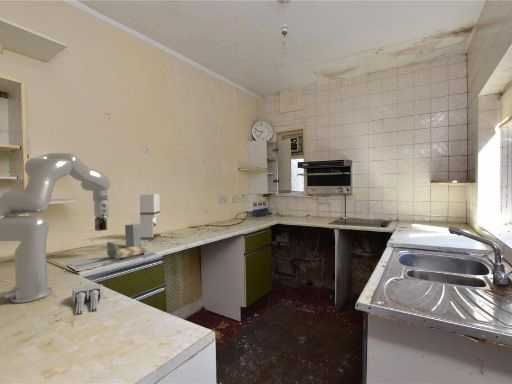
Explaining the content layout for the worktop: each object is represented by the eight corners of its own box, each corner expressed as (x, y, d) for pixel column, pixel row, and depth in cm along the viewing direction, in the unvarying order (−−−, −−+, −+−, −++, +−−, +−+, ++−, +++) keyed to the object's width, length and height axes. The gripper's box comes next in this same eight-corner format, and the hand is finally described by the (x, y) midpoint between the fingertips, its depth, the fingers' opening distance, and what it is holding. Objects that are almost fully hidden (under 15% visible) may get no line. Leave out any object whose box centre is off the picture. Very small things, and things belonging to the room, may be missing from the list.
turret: (69, 323, 89) (68, 310, 88) (74, 293, 105) (73, 282, 104) (103, 316, 94) (103, 303, 93) (103, 288, 110) (102, 277, 109)
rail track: (76, 272, 131) (76, 269, 131) (67, 265, 142) (66, 263, 142) (156, 254, 163) (156, 252, 163) (143, 250, 174) (143, 248, 174)
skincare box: (134, 248, 178) (133, 225, 177) (124, 248, 179) (124, 224, 179) (141, 245, 186) (141, 223, 185) (132, 245, 187) (132, 222, 187)
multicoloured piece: (116, 261, 147) (115, 245, 147) (107, 257, 155) (107, 242, 155) (146, 254, 161) (146, 239, 160) (137, 251, 168) (136, 237, 168)
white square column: (154, 240, 203) (153, 194, 202) (140, 240, 203) (139, 194, 202) (160, 236, 215) (159, 193, 213) (147, 236, 215) (146, 193, 213)
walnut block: (98, 230, 158) (97, 219, 157) (95, 230, 161) (94, 218, 161) (107, 229, 161) (106, 218, 161) (104, 228, 165) (103, 217, 164)
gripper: (112, 198, 158) (113, 229, 158) (101, 197, 169) (102, 226, 169) (98, 199, 152) (99, 231, 153) (88, 198, 163) (89, 227, 164)
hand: (101, 228), depth 161 cm, fingers closed on walnut block, 5 cm apart
